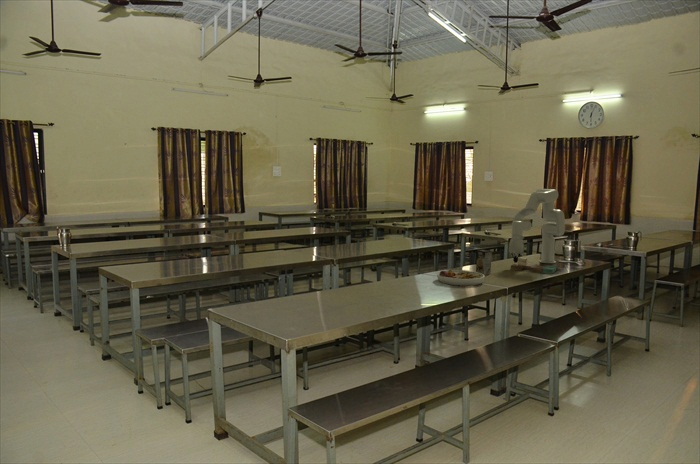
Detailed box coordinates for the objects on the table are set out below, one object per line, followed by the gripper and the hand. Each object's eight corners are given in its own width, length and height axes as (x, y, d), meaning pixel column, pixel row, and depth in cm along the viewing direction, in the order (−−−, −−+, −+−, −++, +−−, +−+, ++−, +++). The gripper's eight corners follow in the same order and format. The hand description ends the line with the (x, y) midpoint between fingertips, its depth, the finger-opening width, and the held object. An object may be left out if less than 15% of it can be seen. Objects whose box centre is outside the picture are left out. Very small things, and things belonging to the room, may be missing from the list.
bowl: (467, 276, 362) (467, 265, 361) (494, 285, 334) (494, 272, 333) (428, 279, 351) (428, 267, 350) (452, 288, 323) (453, 275, 322)
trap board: (515, 266, 402) (516, 262, 402) (556, 270, 388) (556, 266, 388) (510, 269, 388) (510, 265, 387) (552, 273, 373) (552, 269, 373)
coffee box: (475, 272, 376) (476, 249, 374) (482, 271, 378) (483, 249, 377) (483, 274, 368) (484, 251, 366) (491, 273, 370) (492, 251, 368)
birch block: (519, 263, 395) (520, 257, 394) (526, 264, 392) (526, 258, 391) (517, 264, 390) (518, 258, 390) (524, 265, 388) (525, 258, 387)
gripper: (528, 238, 391) (527, 262, 393) (507, 236, 399) (506, 260, 400) (526, 238, 385) (524, 264, 386) (505, 237, 392) (504, 262, 394)
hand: (515, 262), depth 393 cm, fingers closed
